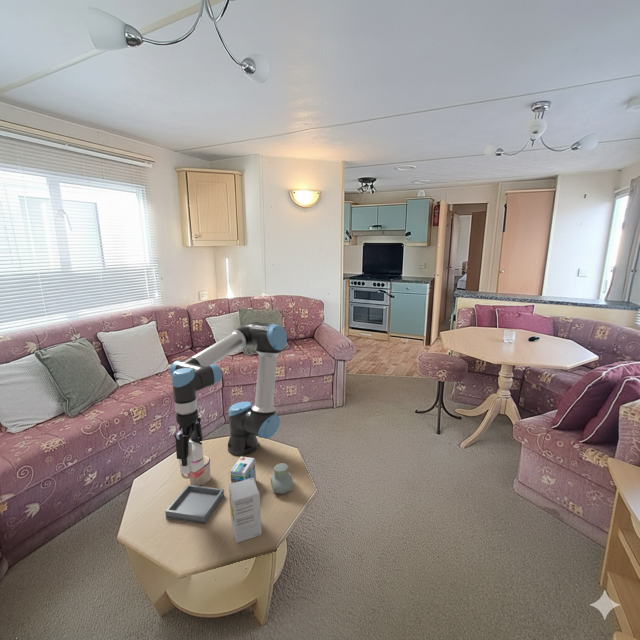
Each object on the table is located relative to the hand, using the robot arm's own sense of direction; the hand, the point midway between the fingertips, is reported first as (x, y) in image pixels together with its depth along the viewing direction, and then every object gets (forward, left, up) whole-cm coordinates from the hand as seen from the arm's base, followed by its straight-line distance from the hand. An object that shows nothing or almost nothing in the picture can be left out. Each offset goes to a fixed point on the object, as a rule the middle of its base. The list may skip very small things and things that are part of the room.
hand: (192, 466), depth 130 cm
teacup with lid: (-14, -8, -18) cm, 24 cm away
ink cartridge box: (0, 0, -3) cm, 3 cm away
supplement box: (+7, +24, -18) cm, 31 cm away
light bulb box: (-14, +14, -18) cm, 27 cm away
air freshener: (-16, +30, -18) cm, 38 cm away
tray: (0, 0, -18) cm, 18 cm away
